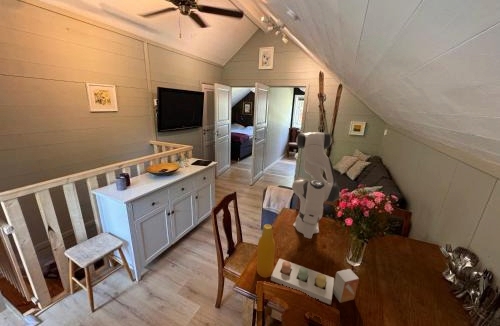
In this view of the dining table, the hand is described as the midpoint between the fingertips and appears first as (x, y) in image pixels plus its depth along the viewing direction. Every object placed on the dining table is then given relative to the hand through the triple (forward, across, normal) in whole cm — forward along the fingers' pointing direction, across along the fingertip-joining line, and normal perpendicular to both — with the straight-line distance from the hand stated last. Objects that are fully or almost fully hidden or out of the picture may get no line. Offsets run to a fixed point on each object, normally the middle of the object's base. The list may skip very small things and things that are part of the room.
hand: (310, 235), depth 109 cm
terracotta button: (+21, +7, -9) cm, 24 cm away
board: (+24, +7, 0) cm, 25 cm away
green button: (+21, +7, 0) cm, 23 cm away
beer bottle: (+24, +10, -20) cm, 33 cm away
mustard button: (+21, +7, +9) cm, 24 cm away
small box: (+24, +6, +20) cm, 32 cm away
